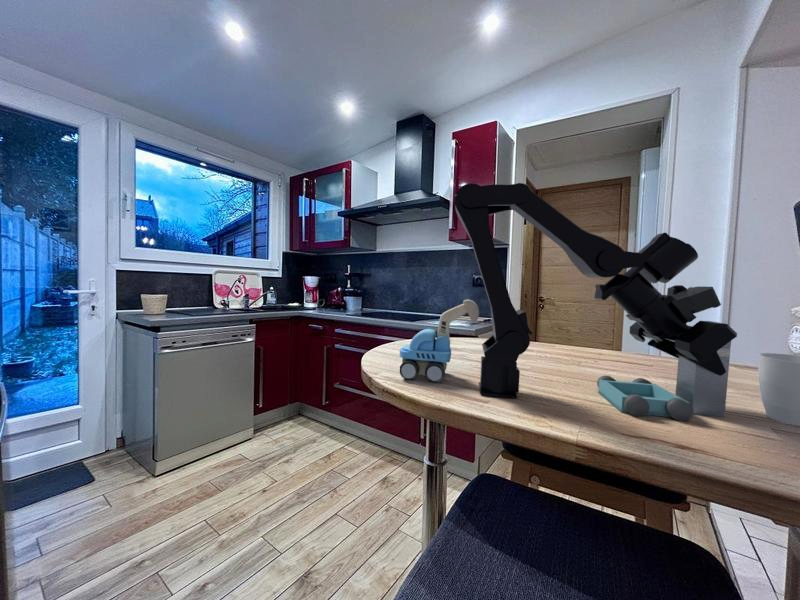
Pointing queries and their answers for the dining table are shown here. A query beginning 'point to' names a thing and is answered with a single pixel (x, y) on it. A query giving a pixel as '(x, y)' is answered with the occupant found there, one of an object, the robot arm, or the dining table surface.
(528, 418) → the dining table surface
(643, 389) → the chassis
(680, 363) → the grey tall block
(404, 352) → the toy excavator
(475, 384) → the dining table surface
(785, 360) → the cup
